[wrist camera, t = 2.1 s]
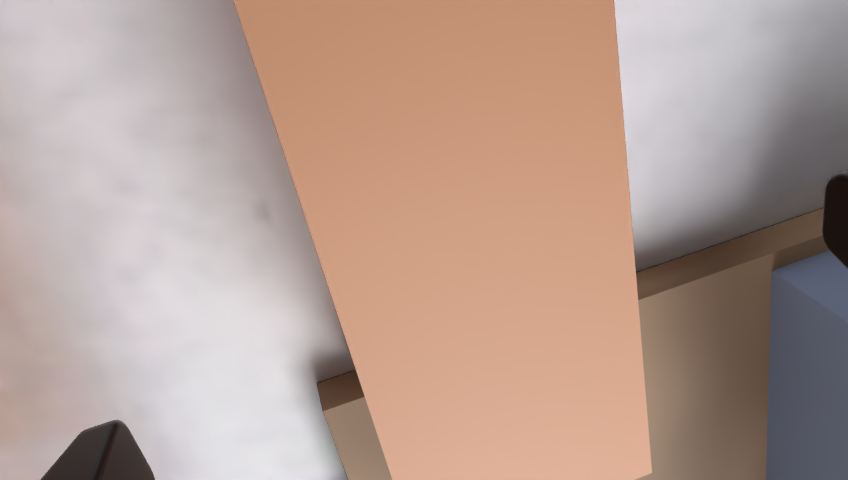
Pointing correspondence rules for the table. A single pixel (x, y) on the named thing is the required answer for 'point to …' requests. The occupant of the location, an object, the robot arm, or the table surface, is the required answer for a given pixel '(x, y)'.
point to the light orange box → (469, 224)
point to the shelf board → (668, 361)
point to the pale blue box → (808, 371)
